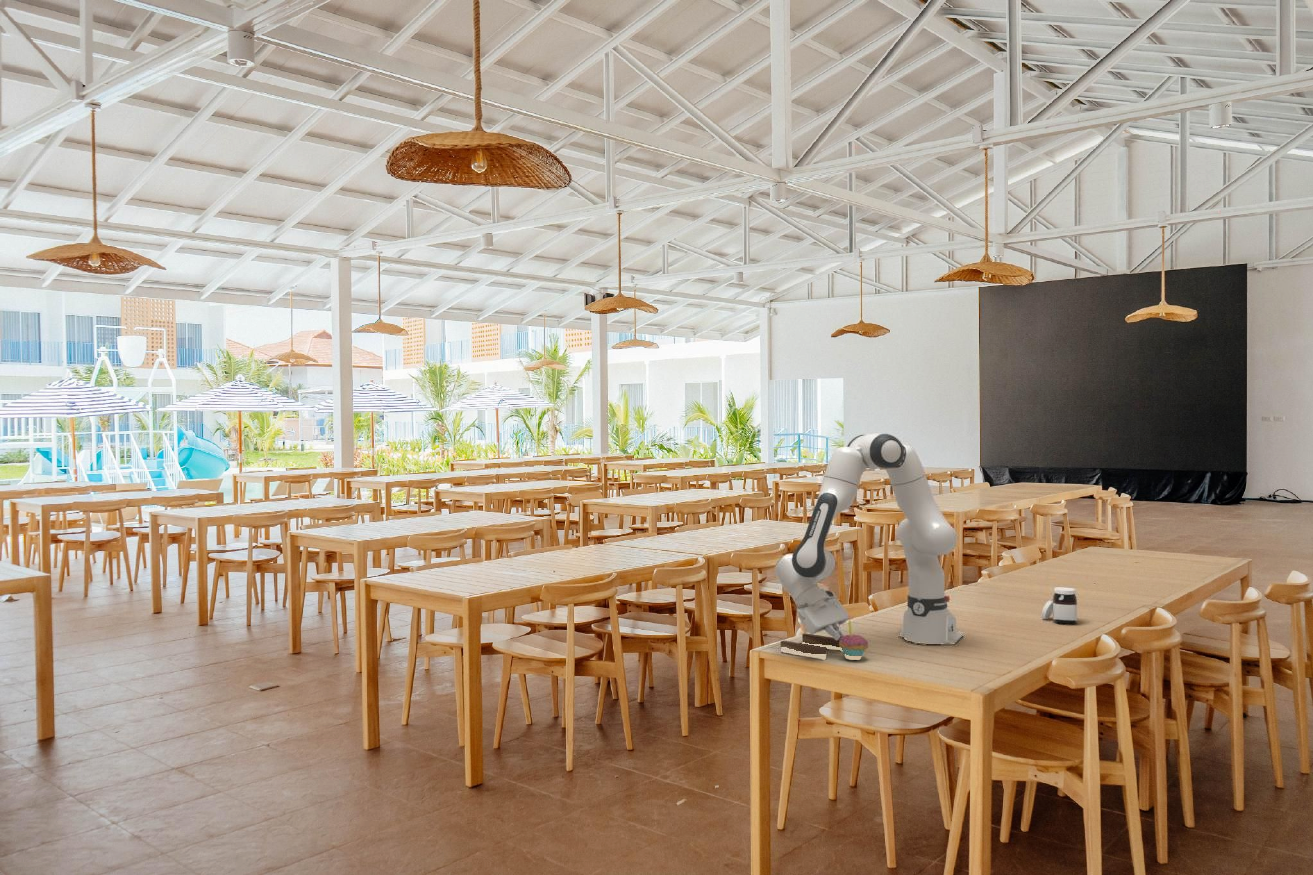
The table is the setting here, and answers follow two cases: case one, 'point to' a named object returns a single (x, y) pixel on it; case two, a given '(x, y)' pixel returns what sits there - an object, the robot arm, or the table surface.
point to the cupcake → (853, 644)
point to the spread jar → (1062, 606)
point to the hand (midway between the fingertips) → (840, 638)
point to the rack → (811, 640)
